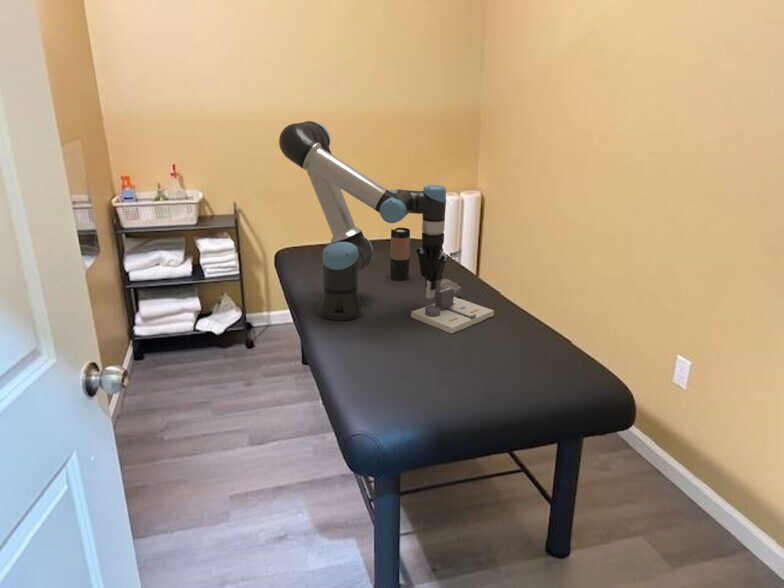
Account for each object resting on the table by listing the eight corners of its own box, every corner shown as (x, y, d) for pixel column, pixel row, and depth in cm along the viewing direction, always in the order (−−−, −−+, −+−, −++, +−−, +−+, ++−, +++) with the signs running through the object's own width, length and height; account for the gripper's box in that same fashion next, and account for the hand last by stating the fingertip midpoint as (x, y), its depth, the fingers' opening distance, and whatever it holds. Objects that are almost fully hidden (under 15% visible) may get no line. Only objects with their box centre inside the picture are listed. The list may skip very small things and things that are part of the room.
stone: (444, 302, 208) (445, 287, 206) (431, 293, 216) (431, 279, 214) (463, 299, 211) (464, 284, 209) (450, 291, 219) (450, 276, 217)
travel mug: (408, 281, 228) (410, 232, 221) (389, 280, 228) (390, 232, 221) (408, 275, 236) (410, 227, 229) (390, 274, 236) (391, 227, 229)
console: (451, 333, 181) (452, 322, 180) (411, 317, 194) (411, 306, 192) (493, 315, 196) (494, 305, 194) (453, 301, 208) (453, 291, 207)
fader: (441, 309, 194) (442, 292, 191) (435, 307, 196) (435, 290, 193) (453, 305, 197) (454, 288, 195) (446, 303, 199) (447, 286, 197)
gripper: (455, 233, 190) (451, 299, 199) (426, 226, 199) (424, 290, 207) (440, 237, 185) (437, 305, 194) (411, 230, 194) (409, 295, 202)
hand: (430, 297), depth 200 cm, fingers closed
